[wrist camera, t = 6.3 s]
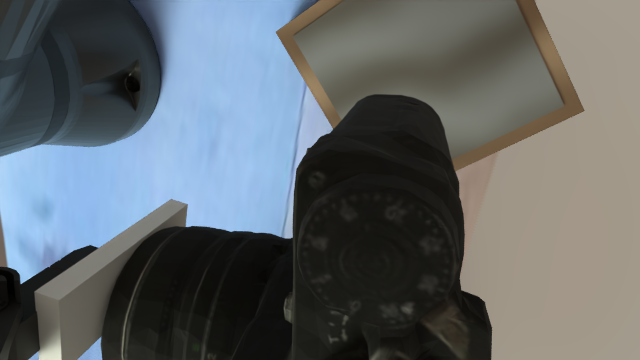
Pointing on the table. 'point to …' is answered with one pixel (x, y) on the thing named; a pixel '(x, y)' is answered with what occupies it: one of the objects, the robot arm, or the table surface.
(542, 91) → the stand
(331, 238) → the camera
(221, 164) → the table surface
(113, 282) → the robot arm
